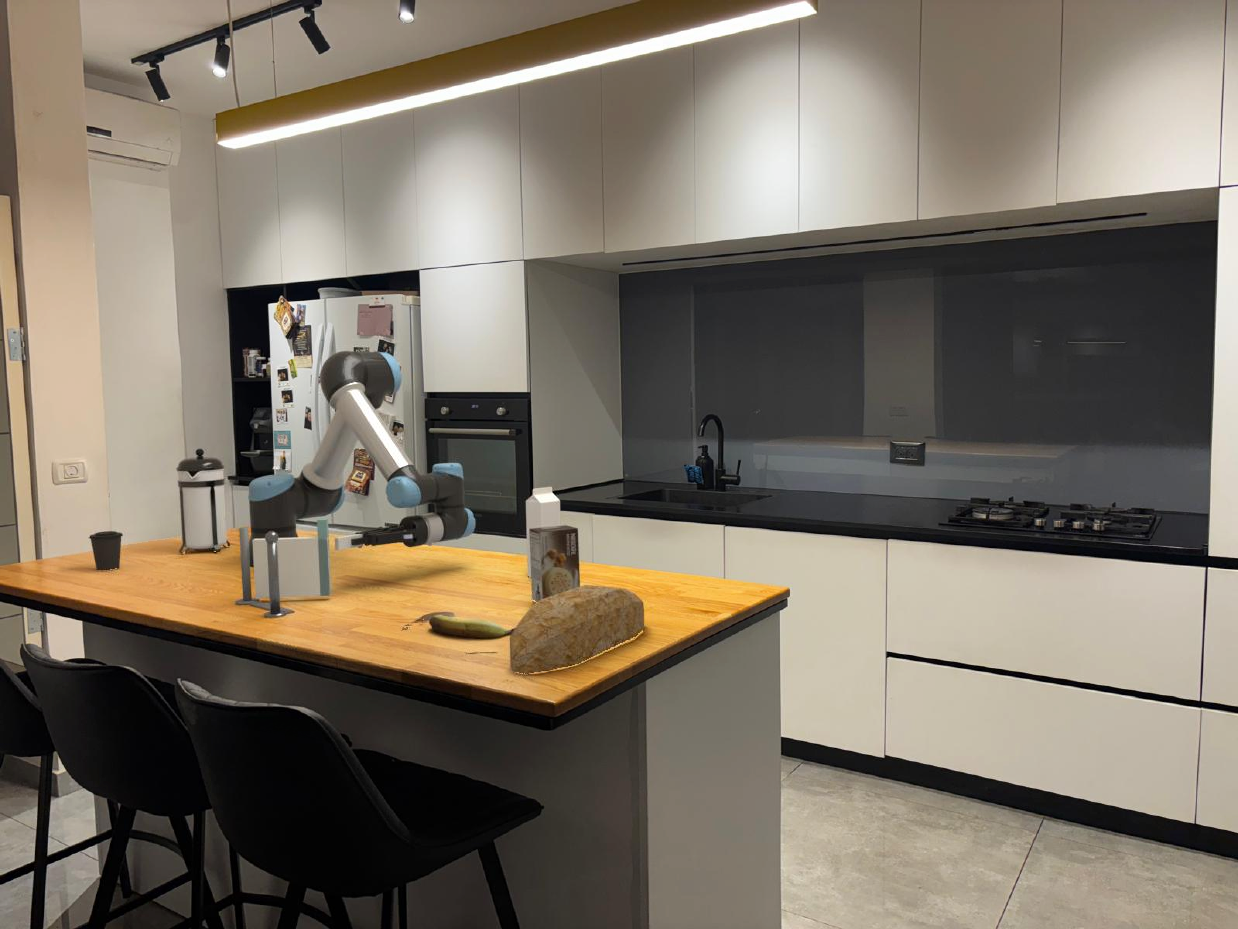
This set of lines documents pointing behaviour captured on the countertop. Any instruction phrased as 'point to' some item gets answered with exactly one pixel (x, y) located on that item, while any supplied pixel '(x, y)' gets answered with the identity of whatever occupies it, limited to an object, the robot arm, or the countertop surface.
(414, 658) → the countertop surface
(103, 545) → the coffee cup
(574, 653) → the bread
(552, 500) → the milk
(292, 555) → the gate
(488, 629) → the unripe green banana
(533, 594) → the coffee box
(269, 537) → the post
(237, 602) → the sill
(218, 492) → the coffee press
